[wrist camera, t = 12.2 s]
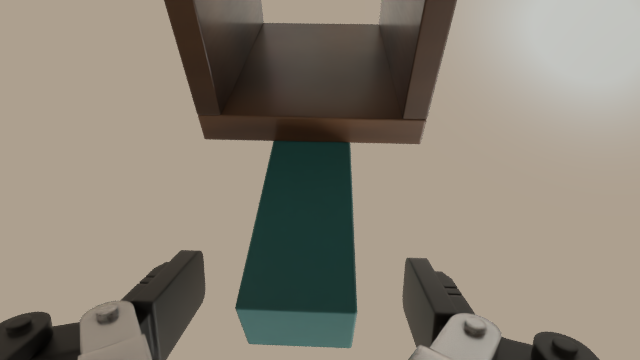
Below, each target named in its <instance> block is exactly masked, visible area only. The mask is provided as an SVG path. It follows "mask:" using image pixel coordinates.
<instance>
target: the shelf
mask: <svg viewBox="0 0 640 360" xmlns="http://www.w3.org/2000/svg"><path fill="white" fill-rule="evenodd" d="M164 1H165V5H166V8H167V12H168V15H169V18H170V22H171V26H172V29H173V32H174V36H175V39H176V42H177V46H178V50H179V53H180V56H181V60H182V63H183V67H184V70H185V74H186V76H187V80H188V84H189V87H190V91H191V94H192V98H193V101H194V104H195V107H196V111H197V114H198V117H199V121H200V124H201V128H202V131H203V134H204V138H205V139H220V140H264V141H265V140H266V141H308V142H354V143H355V142H356V143H396V144H397V143H399V144H420V143H421V140H422V136H423V132H424V128H425V124H426V119H427V116H428V113H429V109H430V104H431V101H432V97H433V93H434V89H435V84H436V81H437V77H438V73H439V69H440V65H441V61H442V57H443V54H444V50H445V46H446V42H447V37H448V34H449V30H450V26H451V22H452V18H453V14H454V10H455V6H456V2H457V0H382V2H381V11H380V19H379V25H373V24H370V25H369V24H292V23H291V24H290V23H289V24H288V23H263V13H262V4H261V0H164Z"/></svg>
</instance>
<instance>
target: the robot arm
mask: <svg viewBox="0 0 640 360" xmlns="http://www.w3.org/2000/svg"><path fill="white" fill-rule="evenodd" d="M204 295H205V276H204V261H203V254H202V252H201V251H188V250H181V251H180V252H179V253H178V254H177V255H176V256H175V257H174V258H173V259H172V260H171V261H170V262H166V263H164V264H162V265H160V266H158V267H156V268H154V269H153V270H152V271H151V272H150V273H149V274H148V275H147V276H146V277H145V278H144V279H142V280H141V281H140V284H137V285H136V286H135V287H134V288H133V289H132V290H131V291H130V292H129V293H128V294H127V295H126V296H125V297H124V298H123V299H122V300H120V301H111V302H107V303H104V304H101V305H98V306H96V307H94V308H92V309H90V310H89V311H87V312H86V313H85V314H84V315H83V316H82V317H81V319H80V322H78V323H72V324H66V325H60V326H53V327H52V322H51V317H50V315H49V314H47V313H44V312H31V313H26V314H22V315H18V316H15V317H13V318H10V319H8V320H6V321H3V322H2V323H0V360H166V359H167V357H168V356H169V354H170V352H171V351H172V350H173V348H174V346H175V345H176V343H177V342H178V340H179V339H180V337H181V335H182V334H183V332H184V331H185V329H186V328H187V326H188V324H189V323H190V321H191V320H192V318H193V317H194V315H195V313H196V312H197V310H198V309H199V307H200V306H201V304H202V302H203V299H204ZM403 308H404V312H405V315H406V318H407V321H408V324H409V327H410V330H411V333H412V335H413V338H414V342H415V345H416V347H417V349H416V350H415V352H414V353H413V354H412V355H411V357H410V358H409V359H408V360H599V359H598V358H597V357H596V355H595V354H594V353H593V352H592V351H591V350H590V349H589V348H587V347H586V346H585V345H583V344H582V343H580V342H579V341H576V340H575V339H573V338H571V337H568V336H566V335H562V334H559V333H554V332H541V333H538V334H536V335H535V337H534V340H533V345H530V344H526V343H521V342H517V341H513V340H509V339H506V338H503V337H501V332H500V330H499V328H498V327H497V326H496V325H495V324H494V323H492V322H491V321H489V320H487V319H486V318H483V317H481V316H478V315H475V314H474V312H473V310H472V309H471V307H470V306H469V304H468V303H467V301H466V300H465V298H464V297H463V296H462V294H461V292H460V291H459V289H457V286H456V285H455V283H454V282H453V280H452V279H451V278H449V277H448V276H446V275H445V274H444V273H443V272H436V271H434V270H433V268H432V266H431V264H430V263H429V261H428V260H427V259H426V258H407V259H406V263H405V274H404V286H403Z"/></svg>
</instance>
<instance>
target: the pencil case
mask: <svg viewBox="0 0 640 360" xmlns="http://www.w3.org/2000/svg"><path fill="white" fill-rule="evenodd" d="M353 226H354V225H353V200H352V175H351V152H350V142H308V141H274V142H273V147H272V151H271V155H270V159H269V163H268V168H267V172H266V176H265V181H264V185H263V190H262V194H261V198H260V203H259V208H258V212H257V216H256V220H255V224H254V229H253V233H252V238H251V242H250V246H249V250H248V255H247V259H246V263H245V268H244V272H243V277H242V281H241V285H240V290H239V294H238V298H237V303H236V307H235V308H236V311H237V314H238V317H239V319H240V322H241V325H242V327H243V330H244V332H245V335H246V338H247V341H248V343H249V344H263V345H287V346H312V347H336V348H351V346H352V341H353V334H354V328H355V322H356V316H357V298H356V273H355V249H354V227H353Z"/></svg>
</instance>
